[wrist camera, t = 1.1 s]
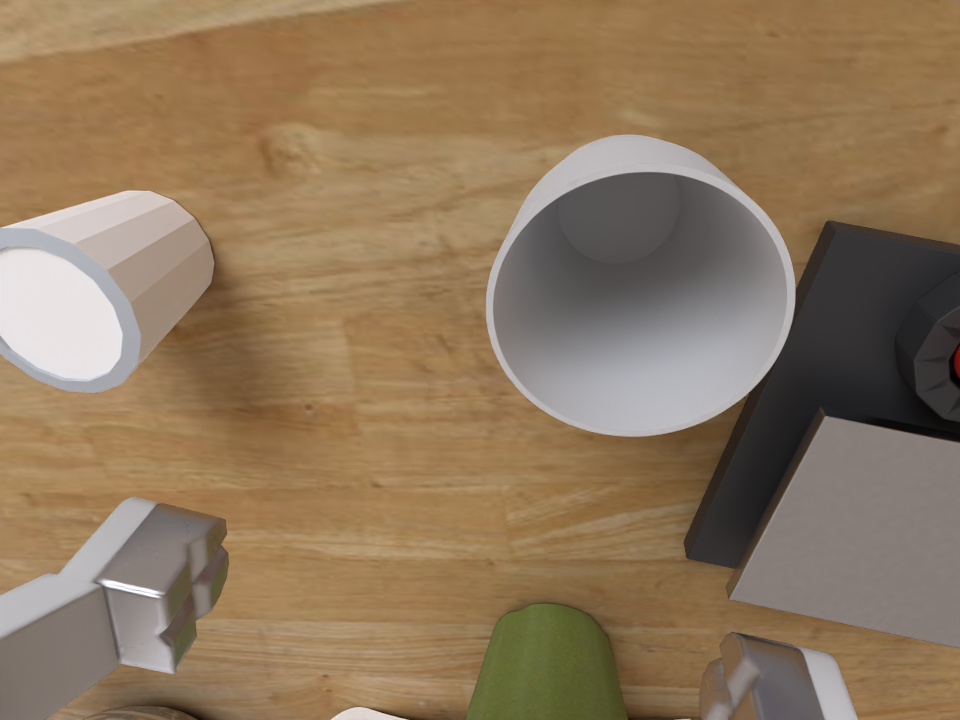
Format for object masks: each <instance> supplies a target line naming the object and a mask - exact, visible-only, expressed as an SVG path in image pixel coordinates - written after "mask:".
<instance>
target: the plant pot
mask: <svg viewBox="0 0 960 720" xmlns="http://www.w3.org/2000/svg"><path fill="white" fill-rule="evenodd" d="M465 720H628V718H627V713H626V709H625V705H624V701H623V697H622V693H621V688H620V684H619V680H618V675H617V671H616V667H615V663H614V659H613V654H612V650H611V646H610V642H609V639H608V637H607V635H606V634H605V633H604V632H603V630H602V629H601V628H600V627H599V625H598V624H597V623H596V622H595V620H594V619H593V618H591V617H590V616H588V615H587V614H585V613H583V612H581V611H579V610H576V609H574V608H571V607H567V606H564V605H557V604H545V603H541V604H532V605H529V606H528V607H526V608H524V609H522V610H519V611H516V612H510V613H507V614H506V615H504V616H503V617H502V618H501V619H500V620H499V621H498V623H497V624H496V626H495V628H494V630H493V633H492V636H491V639H490V642H489V646H488V649H487V652H486V655H485V658H484V661H483V664H482V667H481V670H480V674H479V677H478V680H477V683H476V686H475V690H474V693H473V696H472V699H471V702H470V706H469V709H468V712H467V715H466V718H465Z"/></svg>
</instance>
